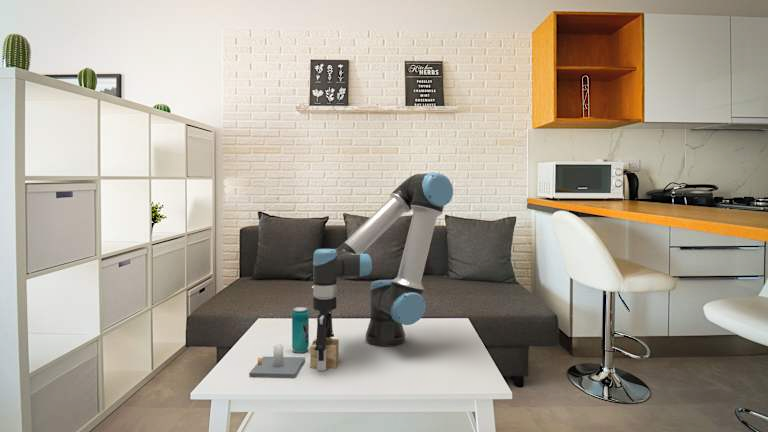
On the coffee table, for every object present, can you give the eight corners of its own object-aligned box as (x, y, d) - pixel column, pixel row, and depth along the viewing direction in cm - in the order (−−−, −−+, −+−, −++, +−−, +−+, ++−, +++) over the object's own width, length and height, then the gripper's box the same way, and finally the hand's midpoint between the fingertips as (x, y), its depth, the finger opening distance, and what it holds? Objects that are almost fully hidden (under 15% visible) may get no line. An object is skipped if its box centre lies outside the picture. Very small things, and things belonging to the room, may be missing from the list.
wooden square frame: (338, 359, 152) (338, 338, 152) (335, 368, 144) (335, 346, 144) (315, 358, 152) (315, 337, 152) (310, 367, 144) (310, 345, 144)
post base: (305, 360, 150) (304, 339, 150) (295, 377, 136) (295, 354, 136) (263, 360, 151) (263, 338, 151) (249, 376, 137) (249, 353, 137)
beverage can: (305, 354, 157) (305, 311, 156) (289, 352, 158) (289, 310, 157) (311, 348, 162) (311, 307, 162) (296, 347, 164) (295, 306, 163)
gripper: (319, 289, 159) (319, 350, 160) (305, 305, 136) (305, 377, 137) (341, 289, 159) (340, 350, 160) (330, 305, 135) (330, 377, 136)
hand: (324, 363), depth 148 cm, fingers open, 11 cm apart
